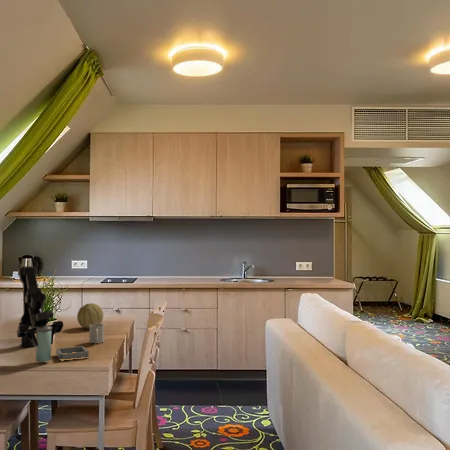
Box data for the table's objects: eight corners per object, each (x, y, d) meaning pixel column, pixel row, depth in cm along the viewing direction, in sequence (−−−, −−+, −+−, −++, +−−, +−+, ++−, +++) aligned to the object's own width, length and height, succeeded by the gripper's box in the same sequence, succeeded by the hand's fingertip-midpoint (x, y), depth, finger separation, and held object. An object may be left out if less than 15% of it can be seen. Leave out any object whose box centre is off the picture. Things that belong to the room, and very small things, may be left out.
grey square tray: (56, 355, 223) (56, 348, 223) (82, 352, 228) (83, 345, 228) (60, 361, 212) (60, 354, 212) (88, 358, 218) (88, 351, 218)
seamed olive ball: (106, 326, 290) (107, 301, 290) (97, 331, 275) (98, 305, 275) (82, 325, 291) (83, 300, 291) (72, 330, 277) (73, 304, 277)
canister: (37, 357, 212) (38, 325, 212) (52, 357, 213) (53, 325, 213) (34, 361, 206) (35, 329, 206) (49, 361, 207) (50, 329, 207)
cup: (104, 340, 253) (104, 323, 253) (103, 345, 243) (103, 327, 243) (89, 341, 251) (89, 323, 251) (88, 345, 242) (88, 327, 242)
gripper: (19, 306, 207) (26, 337, 199) (62, 302, 219) (70, 331, 210) (13, 321, 214) (20, 352, 205) (56, 317, 225) (64, 346, 216)
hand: (44, 345), depth 209 cm, fingers closed on canister, 6 cm apart
